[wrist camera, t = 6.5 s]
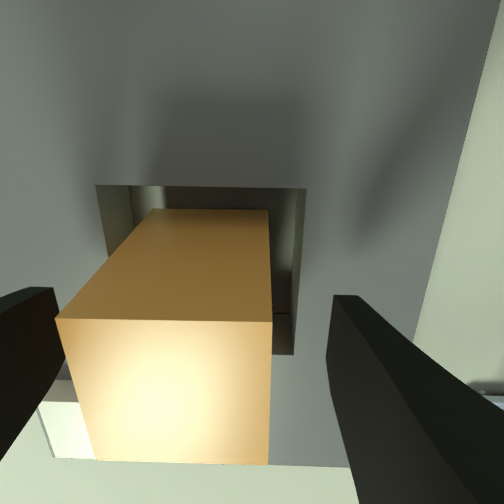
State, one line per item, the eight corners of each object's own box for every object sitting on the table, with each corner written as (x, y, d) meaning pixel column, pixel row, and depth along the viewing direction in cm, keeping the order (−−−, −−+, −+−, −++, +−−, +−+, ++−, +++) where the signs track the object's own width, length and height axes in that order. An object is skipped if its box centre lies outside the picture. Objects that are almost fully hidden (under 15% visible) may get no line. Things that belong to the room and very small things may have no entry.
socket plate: (463, -53, 9) (562, -121, 6) (364, 418, 17) (387, 493, 14) (-49, -55, 10) (-197, -121, 7) (79, 409, 17) (39, 480, 14)
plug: (267, 204, 13) (272, 322, 6) (265, 298, 14) (268, 465, 8) (157, 203, 13) (54, 318, 6) (168, 296, 15) (95, 460, 8)
